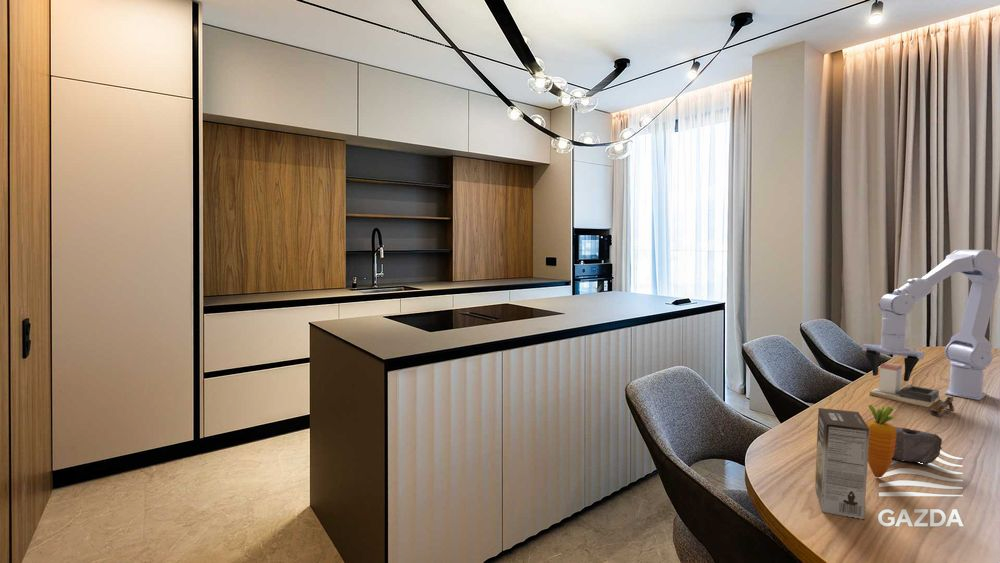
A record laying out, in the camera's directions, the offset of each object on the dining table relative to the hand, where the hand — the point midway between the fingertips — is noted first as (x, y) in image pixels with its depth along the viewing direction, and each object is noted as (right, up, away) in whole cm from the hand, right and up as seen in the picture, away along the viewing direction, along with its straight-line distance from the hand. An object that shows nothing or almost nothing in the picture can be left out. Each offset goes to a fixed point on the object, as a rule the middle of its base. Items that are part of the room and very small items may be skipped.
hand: (890, 377), depth 150 cm
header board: (+2, -5, -2) cm, 6 cm away
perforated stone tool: (-34, -9, -43) cm, 55 cm away
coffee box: (-58, -11, -62) cm, 85 cm away
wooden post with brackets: (+1, -7, -16) cm, 18 cm away
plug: (0, -4, 0) cm, 4 cm away
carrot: (-44, -10, -52) cm, 69 cm away
